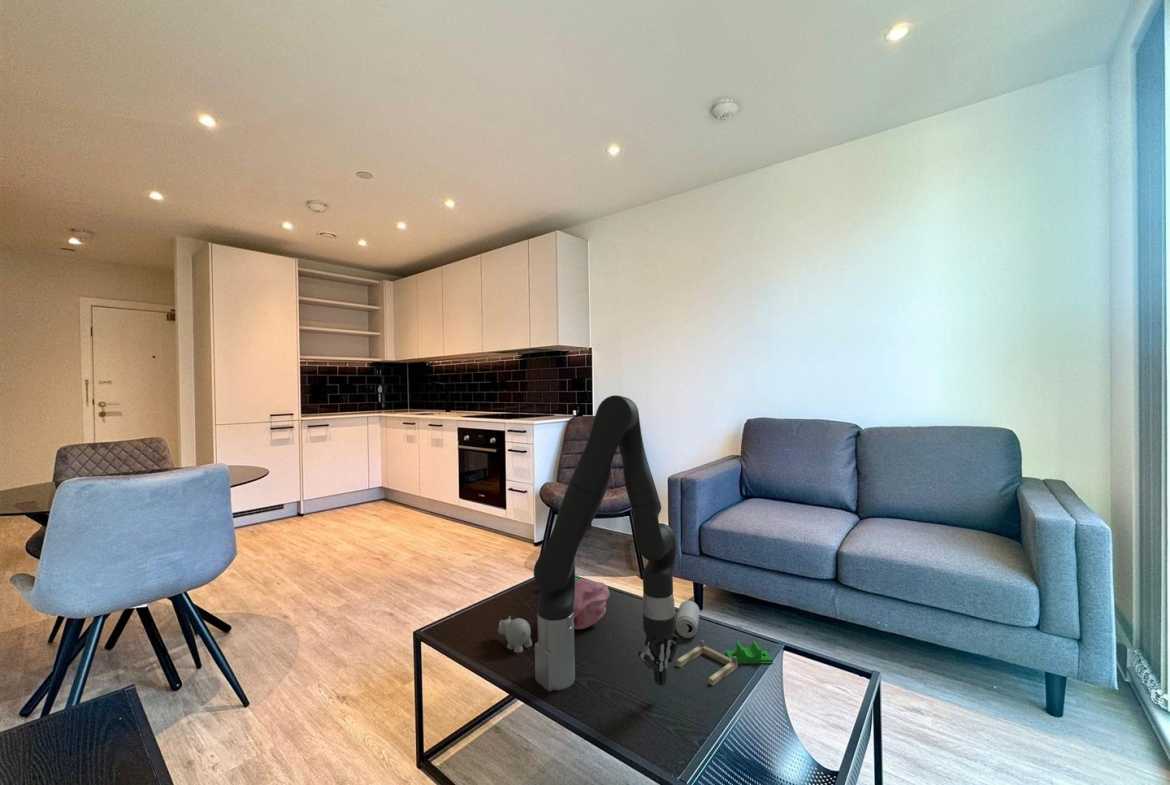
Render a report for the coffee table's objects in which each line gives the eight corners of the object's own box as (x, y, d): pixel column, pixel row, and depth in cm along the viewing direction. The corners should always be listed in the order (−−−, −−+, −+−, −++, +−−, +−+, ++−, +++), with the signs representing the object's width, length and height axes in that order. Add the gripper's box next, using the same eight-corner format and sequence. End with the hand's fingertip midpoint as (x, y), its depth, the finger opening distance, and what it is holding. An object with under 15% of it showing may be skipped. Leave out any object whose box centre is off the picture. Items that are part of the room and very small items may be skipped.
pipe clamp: (765, 640, 125) (772, 649, 120) (766, 654, 125) (772, 663, 120) (725, 641, 125) (730, 650, 120) (725, 654, 125) (730, 664, 120)
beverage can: (701, 619, 143) (698, 639, 132) (681, 619, 145) (677, 639, 134) (698, 599, 143) (695, 617, 132) (677, 599, 145) (673, 618, 134)
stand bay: (713, 688, 111) (712, 675, 111) (676, 667, 120) (676, 655, 120) (737, 669, 118) (737, 657, 118) (701, 651, 127) (701, 639, 127)
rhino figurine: (510, 633, 138) (509, 606, 138) (536, 648, 130) (535, 619, 130) (490, 644, 132) (490, 615, 132) (516, 659, 124) (516, 629, 124)
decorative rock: (581, 647, 130) (580, 595, 130) (544, 632, 138) (543, 583, 138) (616, 619, 145) (615, 573, 145) (580, 607, 153) (579, 563, 153)
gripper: (652, 626, 99) (654, 704, 100) (688, 606, 108) (690, 678, 108) (627, 614, 105) (629, 688, 105) (664, 596, 114) (665, 664, 114)
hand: (660, 683), depth 107 cm, fingers closed
